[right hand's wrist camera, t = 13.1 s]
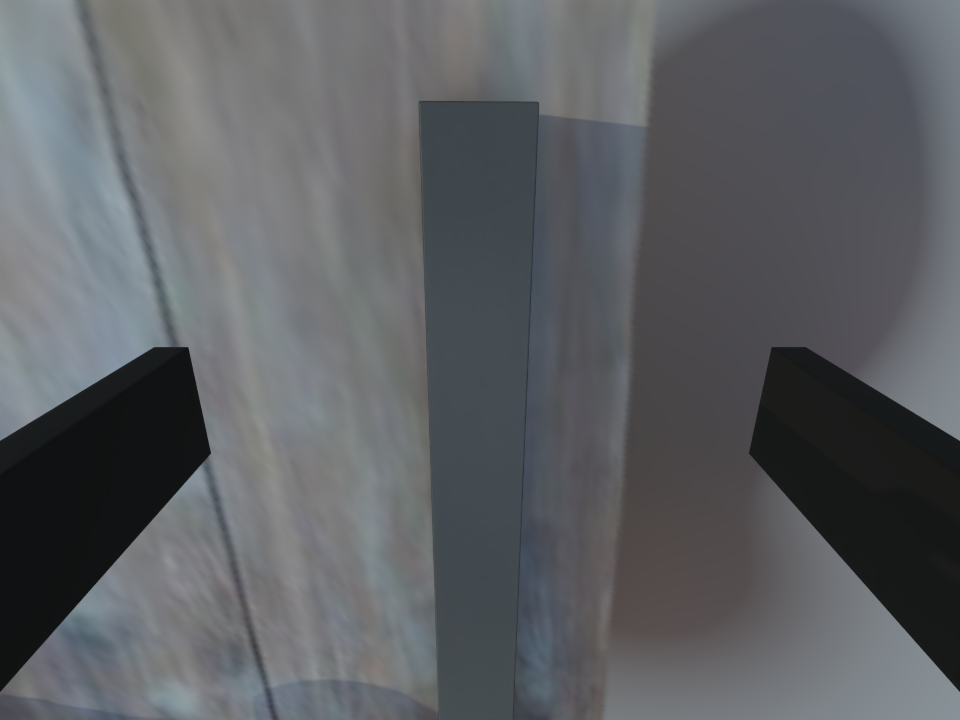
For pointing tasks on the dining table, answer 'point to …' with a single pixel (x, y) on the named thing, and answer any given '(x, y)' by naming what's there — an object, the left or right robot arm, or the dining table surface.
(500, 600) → the beam
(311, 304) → the dining table surface
